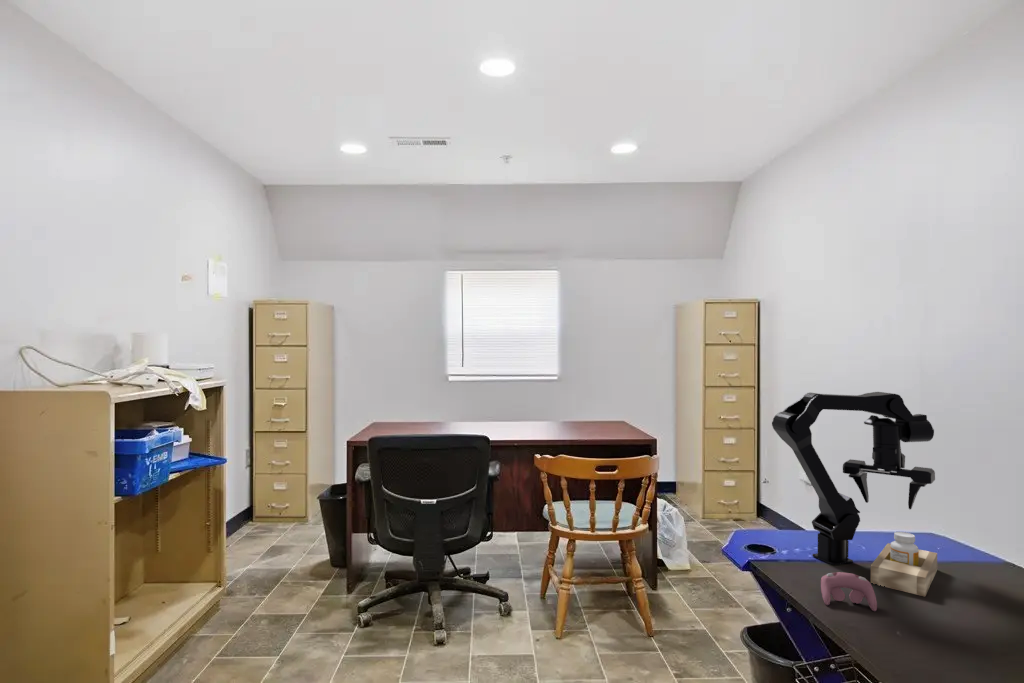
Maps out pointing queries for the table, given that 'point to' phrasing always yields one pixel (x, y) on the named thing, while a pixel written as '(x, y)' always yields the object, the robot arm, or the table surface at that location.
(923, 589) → the holder block
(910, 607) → the table surface
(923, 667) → the table surface
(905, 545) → the supplement bottle
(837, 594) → the video game controller
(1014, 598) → the table surface
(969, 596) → the table surface
